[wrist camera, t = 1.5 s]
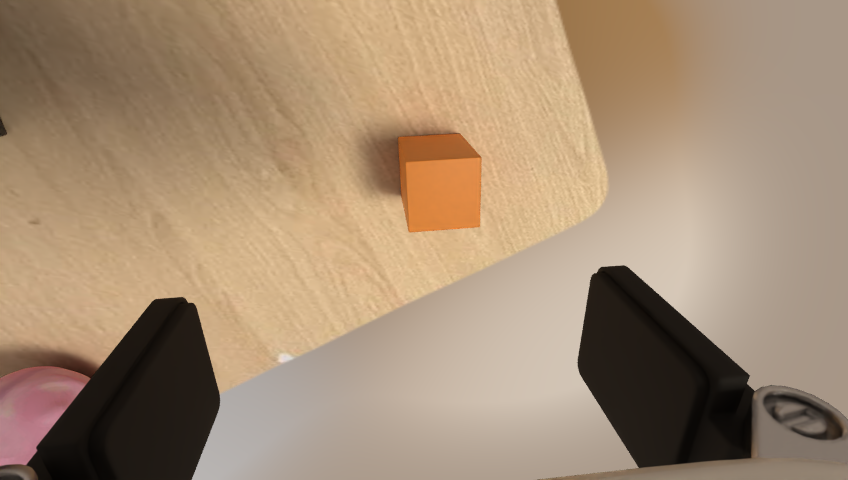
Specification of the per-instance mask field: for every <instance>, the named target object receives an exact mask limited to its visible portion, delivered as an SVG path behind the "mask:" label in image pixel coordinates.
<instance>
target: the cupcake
mask: <svg viewBox="0 0 848 480" xmlns="http://www.w3.org/2000/svg"><path fill="white" fill-rule="evenodd" d="M90 379H91V378H89V377H87V376H85V375H83V374H81V373H78V372H75V371H71V370H67V369H64V368H60V367H53V366H39V367H30V368H26V369H21V370H18V371H15V372H12V373H10V374H7V375H5V376H3V377H1V378H0V466H3V465H9V464H23V465H26V464H27V463H28V462H29V460H30V459H31V458H32V457H33V455H34V454H35V453H36V452H37V449H36V446H37V445H38V444H39V443H40V441H41V440H42V439H43V438H44V436H45V435H46V434H47V433H48V431H49V430H50V429H51V428H52V426H53V425H54V424H55V423H56V421H57V420H58V419H59V418H60V416H61V415H62V414H63V413H64V411H65V410H66V409H67V408H68V406H69V405H70V404H71V403H72V401H73V400H74V399H75V398H76V396H77V395H78V394H79V393H80V391H81V390H82V389H83V388H84V386H85V385H86V384H87V383H88V381H89V380H90Z"/></svg>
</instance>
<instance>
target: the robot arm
mask: <svg viewBox="0 0 848 480" xmlns="http://www.w3.org/2000/svg"><path fill="white" fill-rule="evenodd" d="M578 369H579V373H580V375H581V377H582V378H583V380H584V382H585V383H586V385H587V386H588V388H589V389H590V391H591V392H592V394H593V396H594V397H595V399H596V401H597V402H598V404H599V405H600V407H601V408H602V410H603V412H604V413H605V415H606V416H607V418H608V420H609V421H610V423H611V424H612V426H613V427H614V429H615V431H616V432H617V434H618V435H619V437H620V438H621V440H622V442H623V443H624V445H625V446H626V448H627V450H628V451H629V453H630V454H631V456H632V458H633V459H634V461H635V462H636V464H637V466H638V467H639V468H636V469H627V470H618V471H609V472H601V473H592V474H583V475H574V476H566V477H556V478H548V479H539V480H848V419H847V418H846V417H845V416H844V415H843V414H842V413H841V412H840V411H838V410H837V409H836V408H834V407H833V406H832V405H830V404H829V403H827V402H825V401H823V400H822V399H820V398H818V397H816V396H814V395H812V394H809V393H806V392H804V391H801V390H798V389H794V388H790V387H786V386H774V385H770V386H765V387H761V388H759V389H758V390H756V391H754V390H753V389H752V388H751V387H750V386H749V385H747V382H748V379H749V376H750V375H749V374H748V373H746V372H745V371H744V370H743V369H742V368H741V367H740V366H739V365H737V364H736V363H735V362H734V361H733V360H732V359H731V358H730V357H728V356H727V355H726V354H725V353H724V352H723V351H722V350H721V349H719V348H718V347H717V346H716V345H715V344H714V343H712V342H711V341H710V340H709V339H708V338H707V337H706V336H705V335H703V334H702V333H701V332H700V331H699V330H698V329H697V328H696V327H695V326H693V325H692V324H691V323H690V322H689V321H688V320H687V319H686V318H684V317H683V316H682V315H681V314H680V313H679V312H678V311H676V310H675V309H674V308H673V307H672V306H671V305H670V304H669V303H668V302H666V301H665V300H664V299H663V298H662V297H661V296H659V294H657V293H656V292H655V291H654V290H653V289H652V288H651V287H649V286H648V285H647V284H646V283H645V282H644V281H643V280H642V279H640V278H639V277H638V276H637V275H636V274H635V273H634V272H633V271H631V270H630V269H629V268H628V267H626V266H609V267H601V268H600V269H599V270H598V272H597V273H594V274H593V275H592V277H591V280H590V287H589V293H588V299H587V305H586V312H585V318H584V324H583V330H582V337H581V343H580V349H579V356H578ZM219 406H220V395H219V390H218V387H217V383H216V379H215V375H214V372H213V368H212V364H211V360H210V357H209V353H208V349H207V345H206V342H205V338H204V334H203V330H202V327H201V323H200V319H199V315H198V312H197V308H196V306H195V304H194V303H188V302H187V300H186V299H185V298H183V297H178V298H164V299H155V300H154V301H152V303H151V304H150V305H149V306H148V308H147V309H146V310H145V311H144V313H143V314H142V315H141V316H140V318H139V319H138V320H137V321H136V323H135V324H134V325H133V326H132V328H131V329H130V330H129V331H128V333H127V334H126V335H125V336H124V338H123V339H122V340H121V341H120V343H119V344H118V345H117V346H116V348H115V349H114V350H113V351H112V353H111V354H110V355H109V356H108V358H107V359H106V360H105V361H104V363H103V364H102V365H101V366H100V368H99V369H98V370H97V371H96V373H95V374H94V375H93V376H92V378H91V379H90V380H89V381H88V383H87V384H86V385H85V386H84V388H83V389H82V390H81V391H80V393H79V394H78V395H77V396H76V398H75V399H74V400H73V401H72V403H71V404H70V405H69V406H68V408H67V409H66V410H65V411H64V413H63V414H62V415H61V416H60V418H59V419H58V420H57V421H56V423H55V424H54V425H53V426H52V428H51V429H50V430H49V431H48V433H47V434H46V435H45V436H44V438H43V439H42V440H41V441H40V443H39V444H38V445H37V446H36V449H37V452H36V453H35V454H34V455H33V457H32V458H31V459H30V460H29V462H28V463H27V464H26V465H23V464H9V465H3V466H0V480H192V477H193V475H194V472H195V470H196V467H197V464H198V462H199V459H200V457H201V454H202V451H203V448H204V446H205V444H206V441H207V439H208V436H209V434H210V431H211V428H212V426H213V423H214V421H215V418H216V415H217V413H218V410H219Z"/></svg>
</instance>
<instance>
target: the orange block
mask: <svg viewBox="0 0 848 480" xmlns="http://www.w3.org/2000/svg"><path fill="white" fill-rule="evenodd" d="M398 146H399V164H400V181H401V197H402V202H403V207H404V211H405V216H406V221H407V226H408V231H409V232H421V231H434V230H447V229H460V228H473V227H480V197H481V156H480V155H479V154H478V153H477V152H476V151H475V150H474V149H473V148H472V146H471V145H470V144H469V143H468V142H467V141H466V140H465V139H464V138H463V136H462V135H461V134H442V135H425V136H407V137H398Z"/></svg>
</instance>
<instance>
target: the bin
mask: <svg viewBox="0 0 848 480" xmlns="http://www.w3.org/2000/svg"><path fill="white" fill-rule="evenodd" d="M6 134H7V133H6V131H5V128H4V126H3V123H2V121H1V119H0V136H4V135H6Z"/></svg>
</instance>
